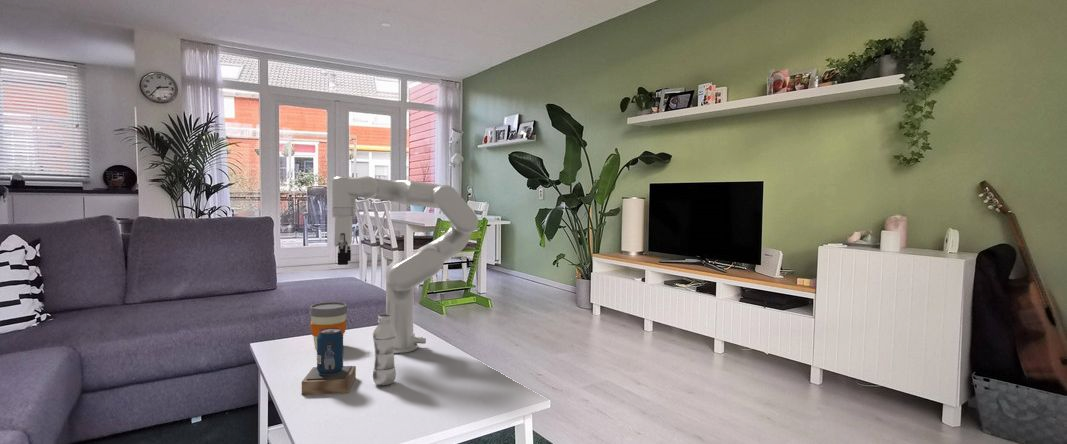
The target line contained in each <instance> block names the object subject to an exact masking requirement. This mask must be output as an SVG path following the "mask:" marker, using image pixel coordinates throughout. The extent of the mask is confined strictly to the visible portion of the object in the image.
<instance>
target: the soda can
mask: <svg viewBox="0 0 1067 444" xmlns="http://www.w3.org/2000/svg"><path fill="white" fill-rule="evenodd" d="M343 366H344V334H342V332H341V329H339V328H326V329H322V330H320V331H319V334H318V336H317V350H316V367H317V370H318V372H319V373H320V374H321V375H334V374H337V373H339V372H340V371H341V370H342V368H343Z"/></svg>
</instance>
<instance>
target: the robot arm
mask: <svg viewBox="0 0 1067 444" xmlns="http://www.w3.org/2000/svg"><path fill="white" fill-rule="evenodd" d="M356 198H362V199H371V200H380V201H381V200H382V201H388V202H394V203H398V204H401V205H409V206H416V207H423V208H425V207H426V208H434V209H440V210H441V211H440V212H442V213H443V215H445V217H446V218H447V219H448V220H449V222H450V227H449V228H448V230H447V231H446V232H445V233H444V234H442V235H441V236H439V237H438V238H436V239H434V240H432V241H431V242H429V243H426V244H425V245H423V246H421V247H419V248H418V249H417V250H416V251H415V253H414V254H413V255H412V256H409V257H408V258H406V259H404V260H403V259H397V260H394V261H391V263H389V265H388V266H387V268H386V271H385V314H389V315H391V320H392V322H390V323H391V325H392V326H393V327H394V329H395V332H396V338H395V345H394V354H405V353H409V352H412V351H413V352H414V351H415V350H417V349H418V347H419V346H418V345H419V344H421V345H422V344H423V345H424V344H427V337H423V336H418V337H417V336H415V335H416V334H415V333H414V305H415V303H414V302H415V301H414V299H415V297H414V296H415V292H414V291H415V290H414V288H415V287H416V286H418V285H420V284H422V283H423V282H425V281H427V280H428V279H430V278H432V277H434V276H435V275H437V273H439V272H440V271H441V269H443V265H444V263H445V262H447V260H450V259H452V258H453V257H454V256H456V255H458V254H459V253H460V252H461V251H463V250H464V249H465V247H466V246H467V245H468V243H469V242H470V239H471V235H472V233H474V232H475V231H476V230H477V229H478V225H479V217H478V215H477V214H476V213H475V211H474V210H473V209H472V208H471V206H469V204H468V203H467V202H466V201H465V200H464V199H463V197H462V196H461V195H460V194H459V192H458V191H457V190H456V189H455V188H454V187H452V186H451V185H448V184H437V183H429V182H422V181H415V180H392V179H390V180H389V179H382V178H377V177H376V178H375V177H371V176H369V175H367V176H366V175H365V176H357V177H355V176H354V177H352V176H335V177H333V178H332V180H331V199H332V200H331V207H332V210H331V213H332V215H331V216H332V218H335V219H334V239H333V240H334V243H333V244H334V245H333V246H334V247H335V248H336V247H338V248H337V249H338V250H337V265H339V266H344V265H345V266H347V265H349V262H350V261H351V260H352V249H351V246H352V243H353V218H357V216H356V215H357V212H356V210H357V209H356V208H357V207H356V205H357V202H356V201H357V199H356Z"/></svg>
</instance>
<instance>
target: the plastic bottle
mask: <svg viewBox="0 0 1067 444" xmlns="http://www.w3.org/2000/svg"><path fill="white" fill-rule="evenodd" d="M390 322H392V320H391V315H389V314H386V313H385V314H378V316H377V323H378V324H377V326H376V327H375V329H374V330H373V333H372V339H373V340H372V341H373V346H374V367H373V371H372V380H373V383H374V384H375V385H377V386H388V385H391V384H394V382H395V381H396V377H397V371H396V370H397V369H396V365H395V353H394V345H395V338H396V332H395V329H394V327H393V326H392V325H391V323H390Z"/></svg>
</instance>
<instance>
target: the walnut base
mask: <svg viewBox="0 0 1067 444" xmlns="http://www.w3.org/2000/svg"><path fill="white" fill-rule="evenodd" d="M356 366H357V365H343V368H342V370H341V371H340V372H339V373H337V374H334V375H321V374H320V373H319V372H318V370H317V366H313V367H312V368H311V369H310V371H309V372H308V373H307V374H306V376H305V377H304V378H303V379H302V380H301V396H303V395H304V396H305V395H306V396H308V395H324V394H325V395H330V394H331V395H332V394H334V395H335V394H348V393H349V391H350V390H351V388H352V386H353V384H354V382H355V379H356V377H357V374H356V373H357V372H356V371H357V370H356V369H357V367H356Z"/></svg>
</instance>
